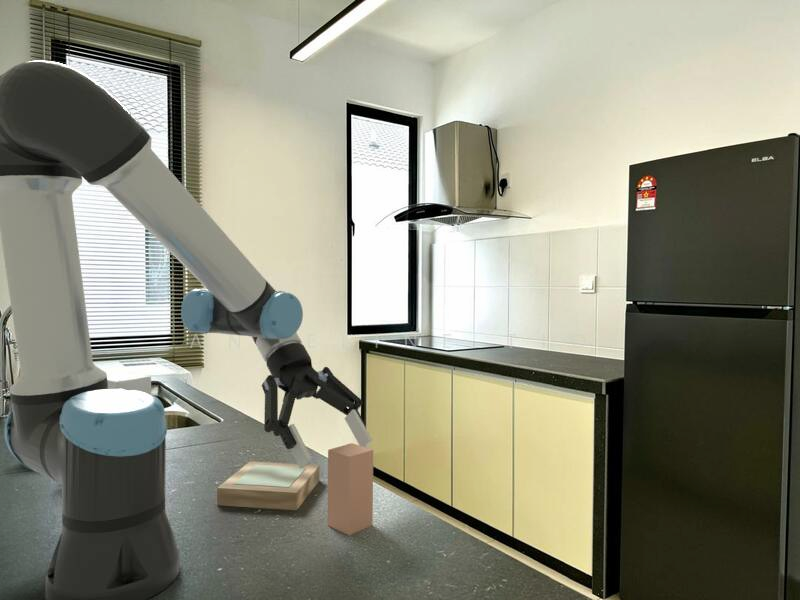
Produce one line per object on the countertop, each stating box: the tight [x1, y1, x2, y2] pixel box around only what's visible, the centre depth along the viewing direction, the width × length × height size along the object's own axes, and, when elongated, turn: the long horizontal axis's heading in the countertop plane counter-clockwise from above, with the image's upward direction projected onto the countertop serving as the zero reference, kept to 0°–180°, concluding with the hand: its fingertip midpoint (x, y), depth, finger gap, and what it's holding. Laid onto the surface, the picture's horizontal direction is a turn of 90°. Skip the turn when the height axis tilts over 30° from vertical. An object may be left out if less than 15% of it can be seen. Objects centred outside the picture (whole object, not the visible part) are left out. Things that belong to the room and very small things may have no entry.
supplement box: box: [107, 373, 152, 395], centre depth 132 cm, size 9×9×15 cm
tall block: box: [327, 443, 374, 536], centre depth 86 cm, size 5×5×12 cm
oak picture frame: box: [216, 460, 321, 511], centre depth 99 cm, size 14×14×3 cm
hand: (338, 453), depth 91 cm, fingers open, 13 cm apart
